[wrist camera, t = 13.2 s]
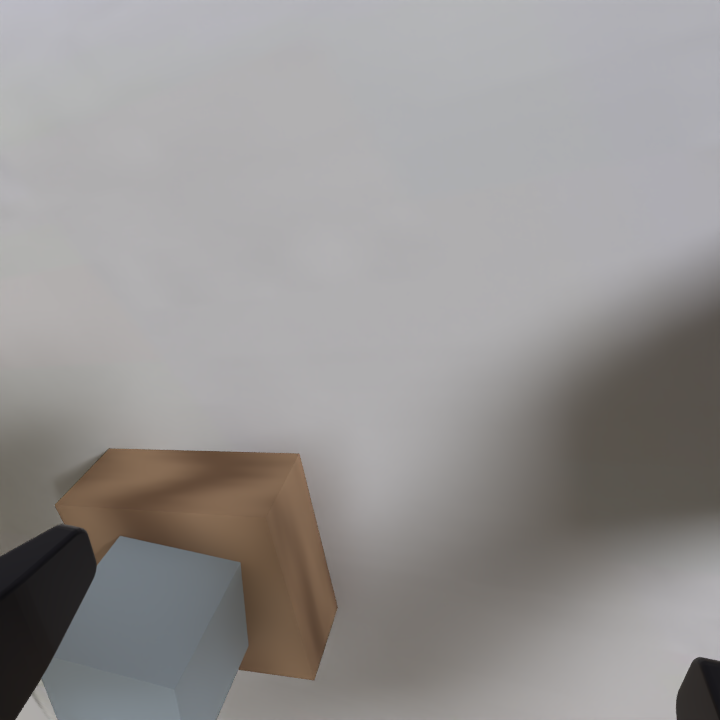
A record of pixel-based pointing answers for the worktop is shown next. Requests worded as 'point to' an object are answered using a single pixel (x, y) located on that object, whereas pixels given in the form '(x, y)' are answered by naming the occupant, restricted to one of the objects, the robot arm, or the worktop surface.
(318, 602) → the walnut block
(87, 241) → the worktop surface
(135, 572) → the slate cube
